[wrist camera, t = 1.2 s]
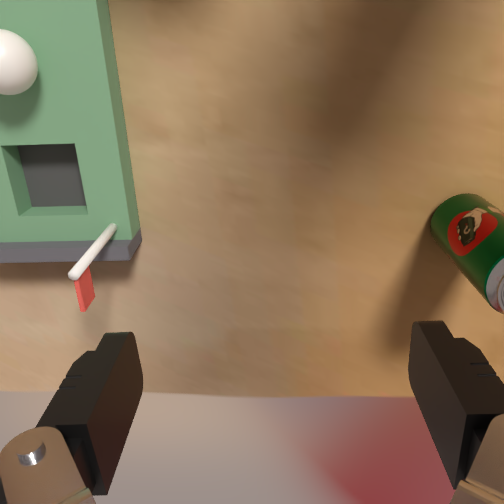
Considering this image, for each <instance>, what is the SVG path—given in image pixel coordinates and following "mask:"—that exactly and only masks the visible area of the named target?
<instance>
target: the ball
mask: <svg viewBox="0 0 504 504" xmlns="http://www.w3.org/2000/svg"><path fill="white" fill-rule="evenodd" d="M37 73H38V63H37V58H36V56H35V53H34V51H33V49H32V48H31V46H30V45H29V44H28V43H27V42H26V41H25V40H24V39H23V38H22V37H20V36H19V35H17V34H15V33H13V32H11V31H8V30H4V29H0V94H3V95H16V94H20V93H22V92H24V91H26V90H27V89H29V88H30V87H31V86H32V84H33V83H34V81H35V79H36V77H37Z"/></svg>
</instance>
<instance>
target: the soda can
mask: <svg viewBox="0 0 504 504" xmlns="http://www.w3.org/2000/svg"><path fill="white" fill-rule="evenodd" d="M430 227H431V234H432V237H433V239H434V240H435V242H436V243H437V244H438V245H439V246H440V248H441V249H442V250H443V251H444V252H445V253H446V255H447V256H448V257H449V258H450V259H451V260H452V262H453V263H454V264H455V265H456V266H457V267H458V269H459V270H460V271H461V272H462V273H463V274H464V276H465V277H466V278H467V279H468V280H469V281H470V283H471V284H472V285H473V286H474V287H475V288H476V289H477V291H478V292H479V293H480V294H481V295H482V296H483V298H484V299H485V300H486V301H487V302H488V303H489V305H490V306H491V307H492V308H493V309H495V310H496V311H498V312H500V313H502V314H504V213H503V212H502V211H500V210H499V209H498V208H496V207H495V206H493V205H492V204H491V203H489V202H488V201H486V200H485V199H484V198H482V197H480V196H478V195H475V194H459V195H456V196H453V197H451V198H449V199H447V200H446V201H444V202H443V203H442V204H441V205H440V206H439V207H438V208H437V210H436V211H435V213H434V215H433V217H432V220H431V226H430Z"/></svg>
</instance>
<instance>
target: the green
mask: <svg viewBox="0 0 504 504" xmlns="http://www.w3.org/2000/svg"><path fill="white" fill-rule="evenodd" d="M0 29H4V30H8V31H11V32H13V33H15V34H17V35H19V36H20V37H22V38H23V39H24V40H25V41H26V42H27V43H28V44H29V45H30V46H31V48H32V49H33V51H34V53H35V56H36V58H37V63H38V73H37V77H36V79H35V81H34V83H33V84H32V86H31V87H30V88H29V89H27V90H26V91H24V92H22V93H20V94H16V95H3V94H0V263H25V262H74V261H78V262H77V263H76V264H75V266H74V267H73V268H72V269H71V270H70V272H69V273H68V277H69V278H70V279H71V280H74V284H75V288H76V293H77V297H78V302H79V306H80V311H81V312H85V311H86V310H87V308H88V307H89V305H90V304H91V302H92V301H93V299H94V298H95V293H94V288H93V283H92V278H91V273H90V268H89V265H90V263H91V262H92V261H122V260H130V259H131V258H132V256H133V254H134V253H135V251H136V250H137V248H138V246H139V245H140V243H141V241H142V237H141V230H140V223H139V216H138V209H137V202H136V195H135V188H134V181H133V174H132V167H131V160H130V154H129V147H128V140H127V133H126V126H125V119H124V112H123V105H122V98H121V91H120V84H119V77H118V70H117V63H116V56H115V49H114V42H113V35H112V28H111V21H110V14H109V7H108V0H0Z"/></svg>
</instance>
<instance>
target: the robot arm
mask: <svg viewBox="0 0 504 504" xmlns="http://www.w3.org/2000/svg"><path fill="white" fill-rule="evenodd" d="M408 372H409V380H410V385H411V388H412V390H413V393H414V395H415V398H416V400H417V402H418V405H419V407H420V410H421V412H422V414H423V417H424V419H425V422H426V424H427V426H428V429H429V431H430V434H431V436H432V439H433V441H434V443H435V446H436V448H437V451H438V453H439V455H440V458H441V460H442V463H443V465H444V467H445V470H446V472H447V475H448V477H449V479H450V482H451V484H452V487H453V489H456V491H455V493H454V495H453V497H452V500H451V502H450V504H504V384H503V382H502V381H501V380H500V378H499V377H498V376H496V372H495V371H494V369H493V368H492V366H491V365H489V362H488V361H487V359H486V358H485V356H484V355H483V353H482V352H481V350H480V349H479V348H477V347H476V346H475V345H473V344H472V343H471V342H469V341H468V340H466V339H465V338H454V337H453V336H452V334H451V332H450V331H449V329H448V328H447V326H446V324H445V323H444V322H443V321H418V322H414V323H413V326H412V334H411V344H410V354H409V365H408ZM142 390H143V374H142V369H141V364H140V359H139V354H138V350H137V345H136V340H135V336H134V334H133V333H132V332H117V333H105V334H104V336H103V338H102V339H101V341H100V343H99V345H98V347H97V349H96V351H87V352H85V353H84V354H83V355H82V356H81V357H80V358H78V359H77V360H76V361H75V362H74V363H73V364H72V366H71V368H70V369H69V371H68V373H67V375H66V379H64V380H63V381H62V383H61V385H60V386H59V390H57V392H56V393H55V395H54V397H53V398H52V400H51V402H50V403H49V405H48V407H47V409H46V410H45V412H44V414H43V416H42V417H41V419H40V420H39V422H38V424H37V426H36V427H35V428H33V429H30V430H27V431H25V432H23V433H21V434H19V435H18V436H16V437H15V438H13V439H12V440H11V441H10V442H9V443H8V444H7V445H6V446H5V447H4V448H3V449H2V451H1V453H0V504H96V503H95V500H94V498H93V496H92V495H107V494H108V491H109V488H110V485H111V482H112V479H113V477H114V474H115V470H116V467H117V465H118V462H119V459H120V456H121V453H122V451H123V448H124V445H125V441H126V438H127V436H128V433H129V430H130V427H131V424H132V422H133V419H134V416H135V413H136V410H137V407H138V404H139V401H140V398H141V395H142Z"/></svg>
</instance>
